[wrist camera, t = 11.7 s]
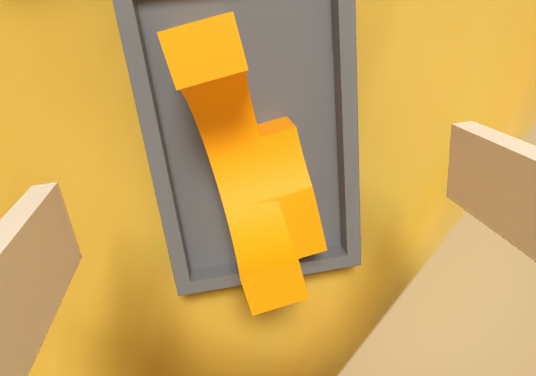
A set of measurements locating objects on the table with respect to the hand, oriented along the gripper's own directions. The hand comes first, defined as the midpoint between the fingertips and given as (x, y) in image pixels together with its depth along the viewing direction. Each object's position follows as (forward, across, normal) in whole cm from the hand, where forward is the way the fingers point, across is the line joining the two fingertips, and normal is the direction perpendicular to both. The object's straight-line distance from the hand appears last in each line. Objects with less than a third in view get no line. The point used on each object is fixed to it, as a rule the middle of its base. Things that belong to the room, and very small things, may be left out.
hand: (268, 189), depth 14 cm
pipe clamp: (+9, 0, 0) cm, 9 cm away
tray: (+9, 0, 0) cm, 9 cm away
